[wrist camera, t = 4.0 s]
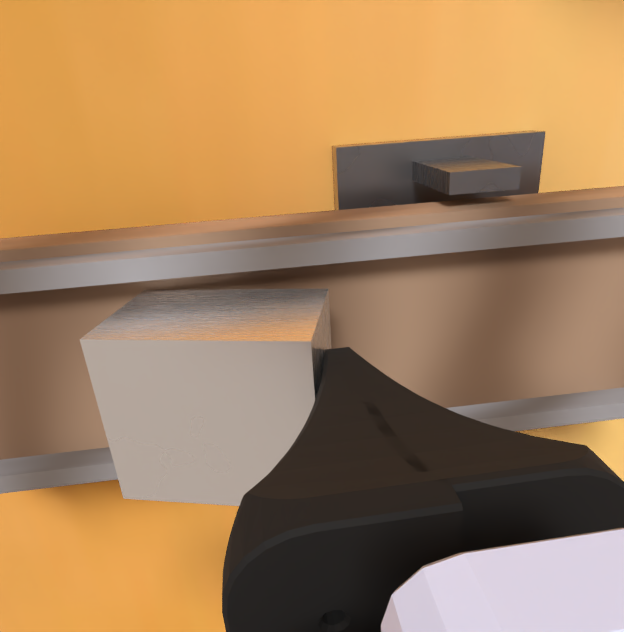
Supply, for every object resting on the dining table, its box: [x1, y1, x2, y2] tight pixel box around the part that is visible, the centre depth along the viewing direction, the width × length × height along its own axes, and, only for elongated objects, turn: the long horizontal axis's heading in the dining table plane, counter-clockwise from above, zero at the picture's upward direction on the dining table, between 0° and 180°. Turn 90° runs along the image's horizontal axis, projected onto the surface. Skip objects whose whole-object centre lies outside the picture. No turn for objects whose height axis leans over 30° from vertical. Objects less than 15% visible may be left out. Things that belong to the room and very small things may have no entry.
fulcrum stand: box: [332, 131, 545, 210], centre depth 17 cm, size 7×10×4 cm
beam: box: [0, 186, 624, 494], centre depth 14 cm, size 23×7×4 cm, turn 94°
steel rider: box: [80, 289, 332, 506], centre depth 12 cm, size 5×4×3 cm
